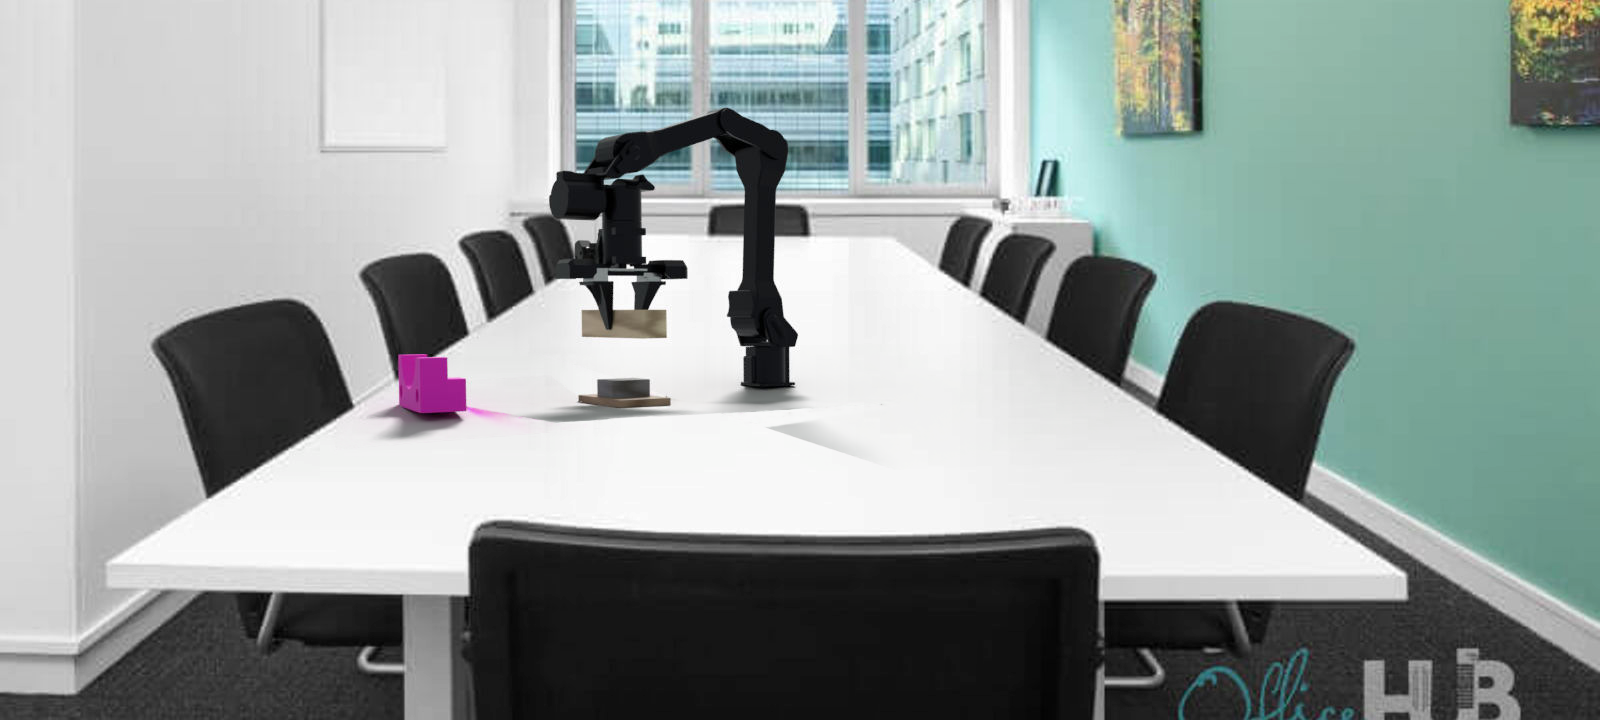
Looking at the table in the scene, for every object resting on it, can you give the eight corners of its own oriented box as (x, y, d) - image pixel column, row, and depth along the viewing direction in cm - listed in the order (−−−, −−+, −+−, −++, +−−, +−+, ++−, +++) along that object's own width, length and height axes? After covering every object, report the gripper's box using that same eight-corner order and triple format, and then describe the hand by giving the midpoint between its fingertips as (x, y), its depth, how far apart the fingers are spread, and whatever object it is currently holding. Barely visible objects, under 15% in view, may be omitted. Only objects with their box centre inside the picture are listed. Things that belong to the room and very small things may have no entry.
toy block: (466, 411, 186) (465, 357, 186) (420, 413, 184) (419, 358, 183) (442, 404, 200) (441, 353, 199) (399, 405, 197) (398, 354, 197)
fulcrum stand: (627, 399, 204) (627, 376, 204) (670, 404, 192) (670, 380, 192) (578, 401, 199) (578, 378, 199) (619, 407, 188) (619, 382, 188)
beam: (604, 336, 203) (604, 309, 203) (666, 337, 191) (666, 309, 191) (581, 336, 200) (581, 309, 200) (643, 338, 188) (643, 310, 188)
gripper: (654, 226, 207) (655, 327, 207) (539, 223, 196) (541, 329, 197) (688, 222, 197) (689, 328, 198) (570, 218, 187) (572, 330, 188)
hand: (623, 329), depth 195 cm, fingers closed on beam, 4 cm apart
